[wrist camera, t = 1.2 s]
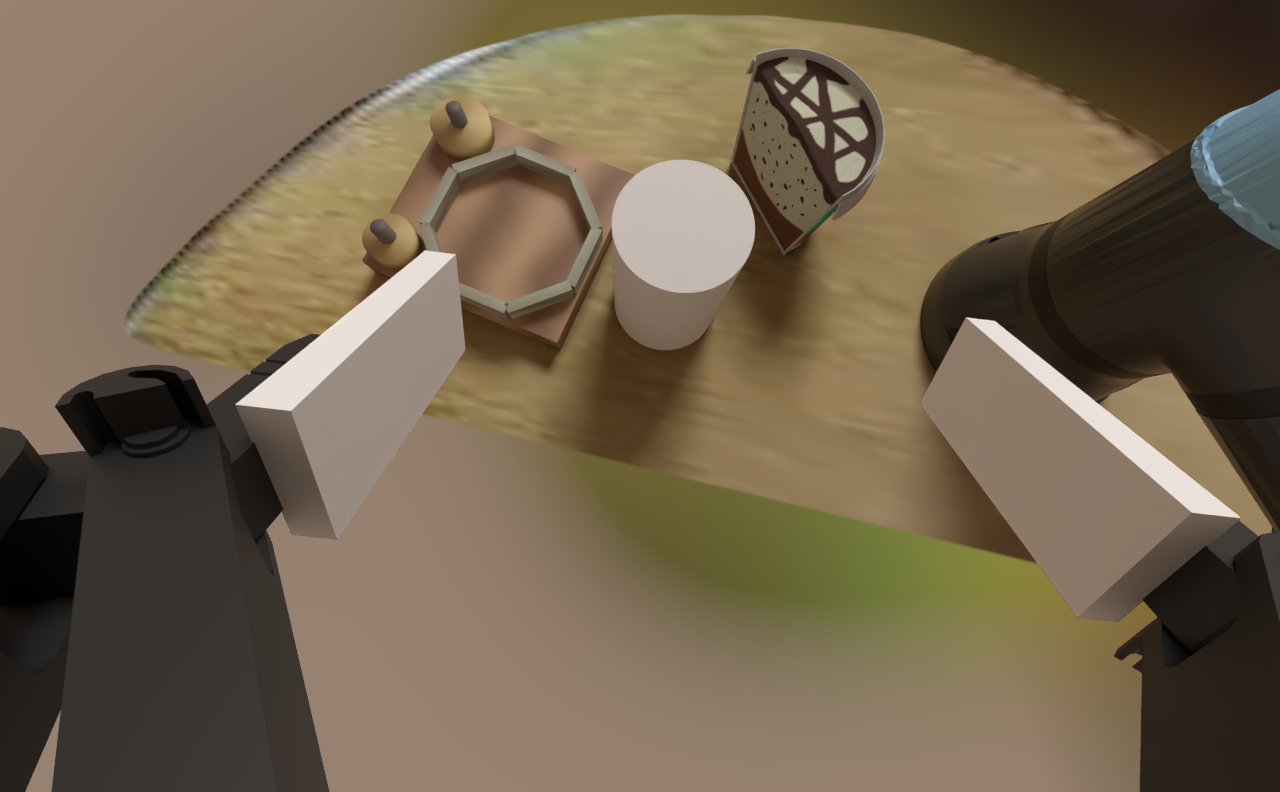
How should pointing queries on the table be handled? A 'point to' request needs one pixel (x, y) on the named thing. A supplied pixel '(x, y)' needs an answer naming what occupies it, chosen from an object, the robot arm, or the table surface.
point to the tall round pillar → (677, 250)
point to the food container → (806, 141)
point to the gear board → (503, 219)
